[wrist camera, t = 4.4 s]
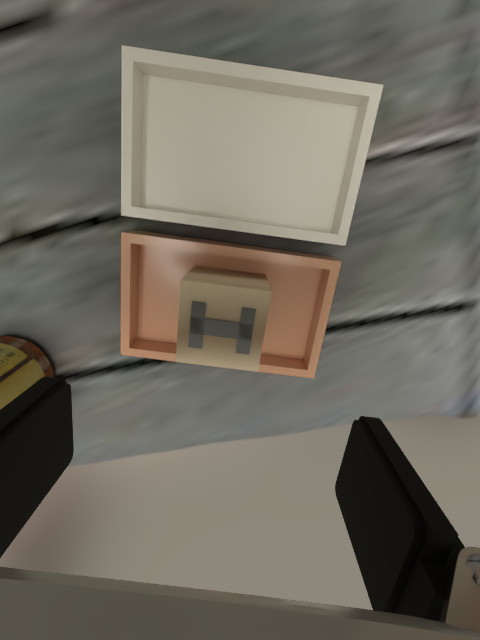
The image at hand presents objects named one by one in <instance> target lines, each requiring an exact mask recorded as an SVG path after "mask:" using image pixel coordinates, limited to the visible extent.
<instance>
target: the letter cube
mask: <svg viewBox="0 0 480 640" xmlns="http://www.w3.org/2000/svg"><path fill="white" fill-rule="evenodd" d="M270 298H271V289H270V286H269V283H268V280H267V277H266V274H258V273H250V272H243V271H235V270H228V269H220V268H213V267H205V266H197V265H195V266H194V267H193V268H192V269H191V270H190V271H189V272H188V273H187V274H186V275H185V276H184V277H183V278H182V279H181V286H180V301H179V316H178V331H177V345H176V360H175V362H182V363H190V364H198V365H206V366H214V367H223V368H231V369H239V370H247V371H255V372H258V369H259V363H260V357H261V351H262V346H263V340H264V334H265V328H266V322H267V316H268V310H269V304H270Z"/></svg>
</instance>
